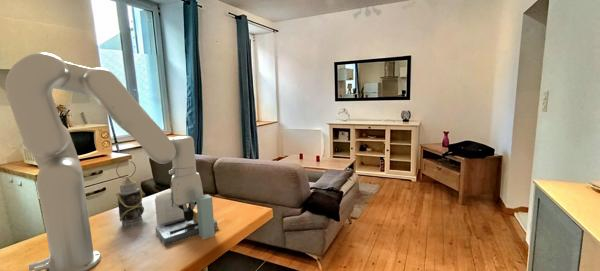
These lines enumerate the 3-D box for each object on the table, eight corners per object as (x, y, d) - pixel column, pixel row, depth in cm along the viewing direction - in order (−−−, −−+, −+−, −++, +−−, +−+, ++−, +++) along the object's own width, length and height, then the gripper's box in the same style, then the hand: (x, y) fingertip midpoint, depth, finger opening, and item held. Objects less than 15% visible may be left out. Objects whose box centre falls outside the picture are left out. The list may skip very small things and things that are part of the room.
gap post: (203, 239, 94) (200, 200, 92) (199, 235, 97) (196, 196, 95) (214, 235, 96) (212, 197, 94) (210, 231, 99) (207, 194, 97)
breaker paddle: (197, 222, 100) (196, 213, 100) (192, 218, 104) (192, 209, 104) (205, 220, 102) (205, 211, 102) (200, 215, 106) (200, 207, 105)
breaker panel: (165, 245, 90) (164, 237, 90) (156, 232, 99) (155, 224, 99) (217, 228, 102) (217, 220, 101) (205, 217, 111) (204, 210, 110)
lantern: (139, 216, 113) (132, 157, 110) (149, 221, 109) (142, 159, 105) (115, 225, 106) (107, 161, 102) (125, 230, 101) (117, 164, 98)
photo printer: (184, 216, 113) (182, 186, 111) (186, 219, 109) (184, 189, 108) (156, 222, 107) (153, 192, 106) (157, 227, 104) (154, 195, 102)
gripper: (165, 177, 90) (170, 230, 93) (209, 169, 100) (213, 216, 103) (159, 173, 96) (164, 222, 99) (201, 165, 106) (205, 210, 108)
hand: (189, 219), depth 101 cm, fingers closed
